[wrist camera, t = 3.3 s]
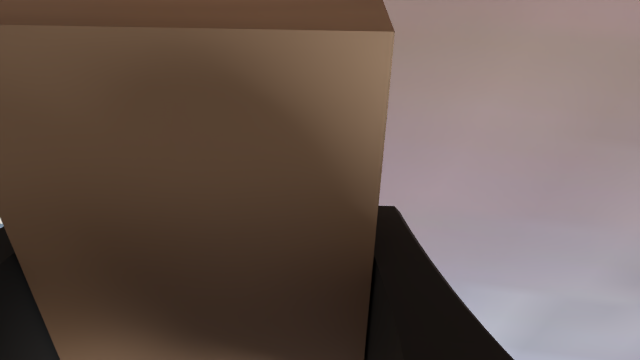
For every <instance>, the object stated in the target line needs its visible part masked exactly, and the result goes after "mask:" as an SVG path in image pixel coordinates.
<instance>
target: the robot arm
mask: <svg viewBox="0 0 640 360" xmlns="http://www.w3.org/2000/svg"><path fill="white" fill-rule="evenodd" d="M0 360H60V358H59V356H58V353H57V351H56V349H55V346H54V344H53V341H52V339H51V337H50V334H49V332H48V330H47V327H46V325H45V323H44V320H43V318H42V315H41V313H40V311H39V308H38V306H37V304H36V301H35V299H34V297H33V294H32V292H31V289H30V287H29V285H28V282H27V280H26V278H25V275H24V273H23V270H22V268H21V266H20V263H19V261H18V259H17V256H16V254H15V252H14V249H13V247H12V244H11V242H10V240H9V237H8V235H7V233H6V230H5V228H4V226H3V227H2V228H0ZM364 360H514V359H513V358H512V357H511V356H510V355H509V354H508V353H507V352H506V351H505V350H504V349H503V348H502V346H501V345H500V344H499V343H498V342H497V341H496V340H495V339H494V338H493V337H492V335H491V334H490V333H489V332H488V331H487V330H486V329H485V328H484V326H483V325H482V324H481V323H480V322H479V321H478V319H477V318H476V317H475V316H474V315H473V314H472V312H471V311H470V310H469V309H468V308H467V307H466V305H465V304H464V303H463V302H462V300H461V299H460V298H459V297H458V295H457V294H456V293H455V292H454V290H453V289H452V288H451V286H450V285H449V284H448V282H447V281H446V280H445V278H444V277H443V276H442V275H441V273H440V272H439V271H438V269H437V268H436V267H435V265H434V264H433V262H432V261H431V260H430V258H429V257H428V255H427V254H426V253H425V251H424V250H423V248H422V247H421V245H420V244H419V242H418V241H417V239H416V238H415V236H414V235H413V233H412V232H411V230H410V228H409V227H408V225H407V223H406V222H405V220H404V219H403V217H402V215H401V213H400V212H399V211H398V210H397V209H396V208H395V206H378V215H377V225H376V236H375V247H374V257H373V268H372V279H371V289H370V300H369V311H368V321H367V332H366V343H365V353H364Z"/></svg>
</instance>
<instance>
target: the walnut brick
mask: <svg viewBox="0 0 640 360" xmlns="http://www.w3.org/2000/svg"><path fill="white" fill-rule="evenodd" d="M394 33H395V31H394V29H393V26H392V23H391V21H390V18H389V16H388V13H387V10H386V8H385V5H384V2H383V0H0V218H1V221H2V223H3V225H4V228H5V230H6V233H7V235H8V237H9V240H10V242H11V244H12V247H13V249H14V252H15V254H16V256H17V259H18V261H19V263H20V266H21V268H22V270H23V273H24V275H25V278H26V280H27V282H28V285H29V287H30V289H31V292H32V294H33V297H34V299H35V301H36V304H37V306H38V308H39V311H40V313H41V315H42V318H43V320H44V323H45V325H46V327H47V330H48V332H49V334H50V337H51V339H52V341H53V344H54V346H55V349H56V351H57V353H58V356H59V358H60V360H364V353H365V343H366V332H367V321H368V311H369V300H370V289H371V279H372V268H373V257H374V247H375V236H376V225H377V215H378V204H379V193H380V183H381V172H382V161H383V151H384V140H385V129H386V119H387V108H388V97H389V87H390V76H391V65H392V55H393V44H394Z"/></svg>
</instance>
